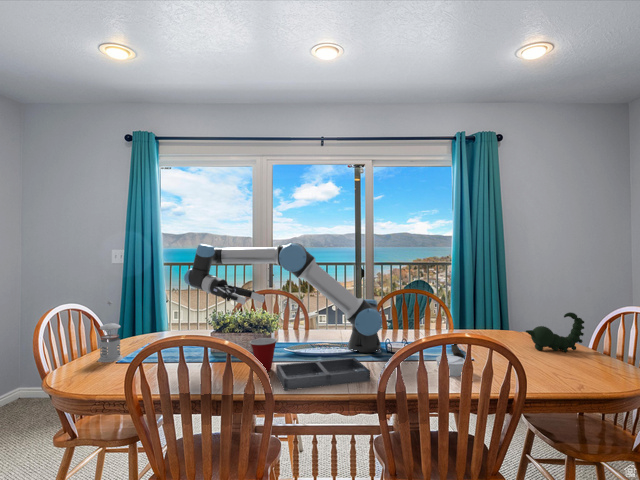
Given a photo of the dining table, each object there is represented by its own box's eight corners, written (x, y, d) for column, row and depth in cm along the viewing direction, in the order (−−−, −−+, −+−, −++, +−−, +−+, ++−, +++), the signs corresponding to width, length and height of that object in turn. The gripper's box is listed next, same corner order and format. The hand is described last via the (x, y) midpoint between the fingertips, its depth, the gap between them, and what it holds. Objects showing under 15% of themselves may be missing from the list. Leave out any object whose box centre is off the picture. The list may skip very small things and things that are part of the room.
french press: (100, 363, 171) (100, 303, 171) (93, 357, 180) (93, 300, 179) (126, 359, 178) (125, 301, 177) (118, 353, 186) (117, 297, 186)
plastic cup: (266, 363, 172) (266, 334, 171) (282, 369, 164) (282, 339, 164) (244, 369, 164) (244, 339, 164) (260, 376, 156) (260, 345, 156)
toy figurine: (573, 351, 195) (519, 345, 196) (577, 311, 194) (523, 306, 196) (585, 357, 185) (528, 351, 187) (589, 315, 185) (532, 310, 186)
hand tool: (463, 362, 174) (463, 351, 174) (453, 361, 175) (453, 350, 175) (459, 349, 193) (459, 339, 193) (450, 349, 194) (450, 339, 194)
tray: (354, 367, 167) (354, 357, 167) (370, 381, 151) (370, 370, 151) (276, 374, 158) (276, 364, 158) (284, 390, 143) (284, 379, 143)
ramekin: (466, 379, 154) (466, 365, 154) (435, 376, 157) (435, 362, 157) (465, 369, 165) (465, 356, 165) (436, 366, 168) (436, 353, 168)
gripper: (231, 293, 188) (269, 307, 179) (192, 295, 166) (233, 311, 156) (235, 277, 188) (273, 290, 178) (196, 277, 165) (238, 292, 156)
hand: (254, 300), depth 167 cm, fingers open, 13 cm apart
